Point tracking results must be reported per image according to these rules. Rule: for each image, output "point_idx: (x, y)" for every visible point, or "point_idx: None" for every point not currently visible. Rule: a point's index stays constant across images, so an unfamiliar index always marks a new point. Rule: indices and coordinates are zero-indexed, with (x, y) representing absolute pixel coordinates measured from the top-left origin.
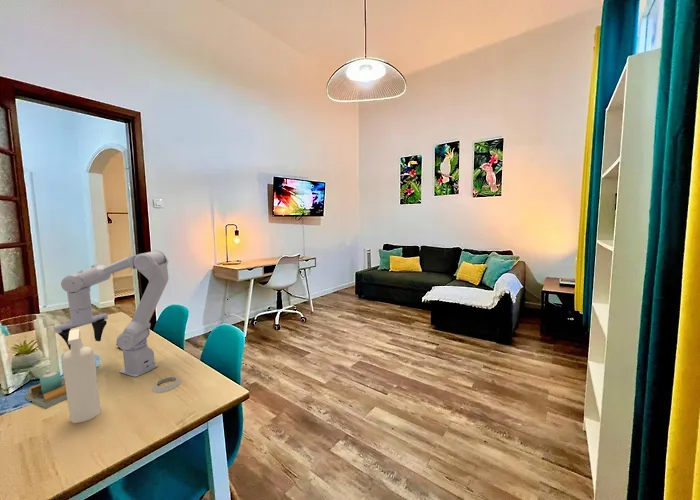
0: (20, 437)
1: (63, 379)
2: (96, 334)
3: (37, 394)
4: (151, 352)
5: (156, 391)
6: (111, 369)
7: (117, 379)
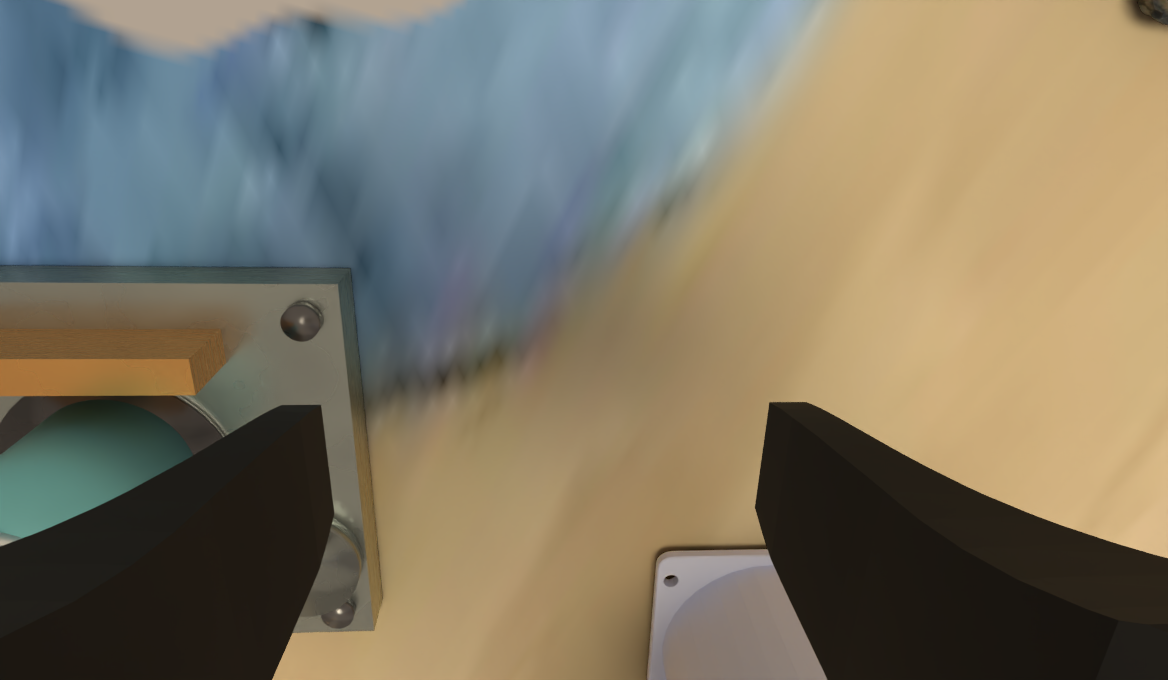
0: None
1: (270, 299)
2: (825, 546)
3: (1, 409)
4: None
5: None
6: (678, 418)
7: (569, 647)
